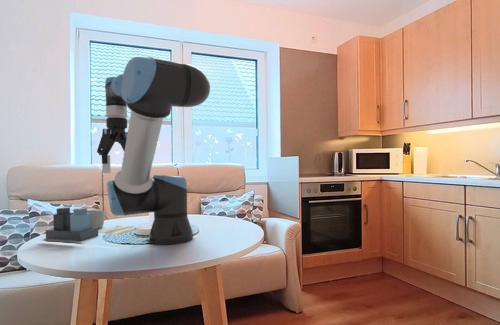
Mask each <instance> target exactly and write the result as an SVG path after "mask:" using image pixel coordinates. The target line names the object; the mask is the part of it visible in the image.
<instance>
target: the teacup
mask: <svg viewBox="0 0 500 325" xmlns="http://www.w3.org/2000/svg"><path fill="white" fill-rule="evenodd" d="M87 213H90V227H97V228H98V230H99V229H101V228H102V227H103V226H104V223H105V213H106V212H105V210H98V209H96V210H95V209H91V210H90V209H89V210H88V209H87Z"/></svg>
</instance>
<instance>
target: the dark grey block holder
mask: <svg viewBox="0 0 500 325" xmlns="http://www.w3.org/2000/svg"><path fill="white" fill-rule="evenodd" d="M73 214H74V212H71V208H70V207H65V206H64V207H59V208H56V213H54V214H53V216H52V218H53V219H52V220H53V228H48V229H45V239H47V240H45V242H50V243H51V242H53V243H63V244H64V243H66V244H78V245H81V244H83V243H82V242H83V241H85V240H88V239H92V238H95V237H98V236H99V233H98V232H99V229H98V228H97V227H90V229H89V230H85V231H82V232H74V231H71V228H70V215H73ZM56 240H57V241H56Z"/></svg>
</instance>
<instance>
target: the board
mask: <svg viewBox="0 0 500 325" xmlns="http://www.w3.org/2000/svg"><path fill="white" fill-rule="evenodd" d="M134 227H135V226H125V225H124V226H123V225H116V226H113V227H109V228H106V229H103V230H98V234H113V235H114V234H115V235H123V234H126V233H129V232H132V231H135V230H134Z"/></svg>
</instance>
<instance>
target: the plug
mask: <svg viewBox="0 0 500 325" xmlns="http://www.w3.org/2000/svg"><path fill="white" fill-rule="evenodd" d="M87 210H88V208H86V207H78V208H74V209H73V215H70V228H71V231H74V232H82V231H85V230H89V229H90V213H87Z"/></svg>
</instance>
